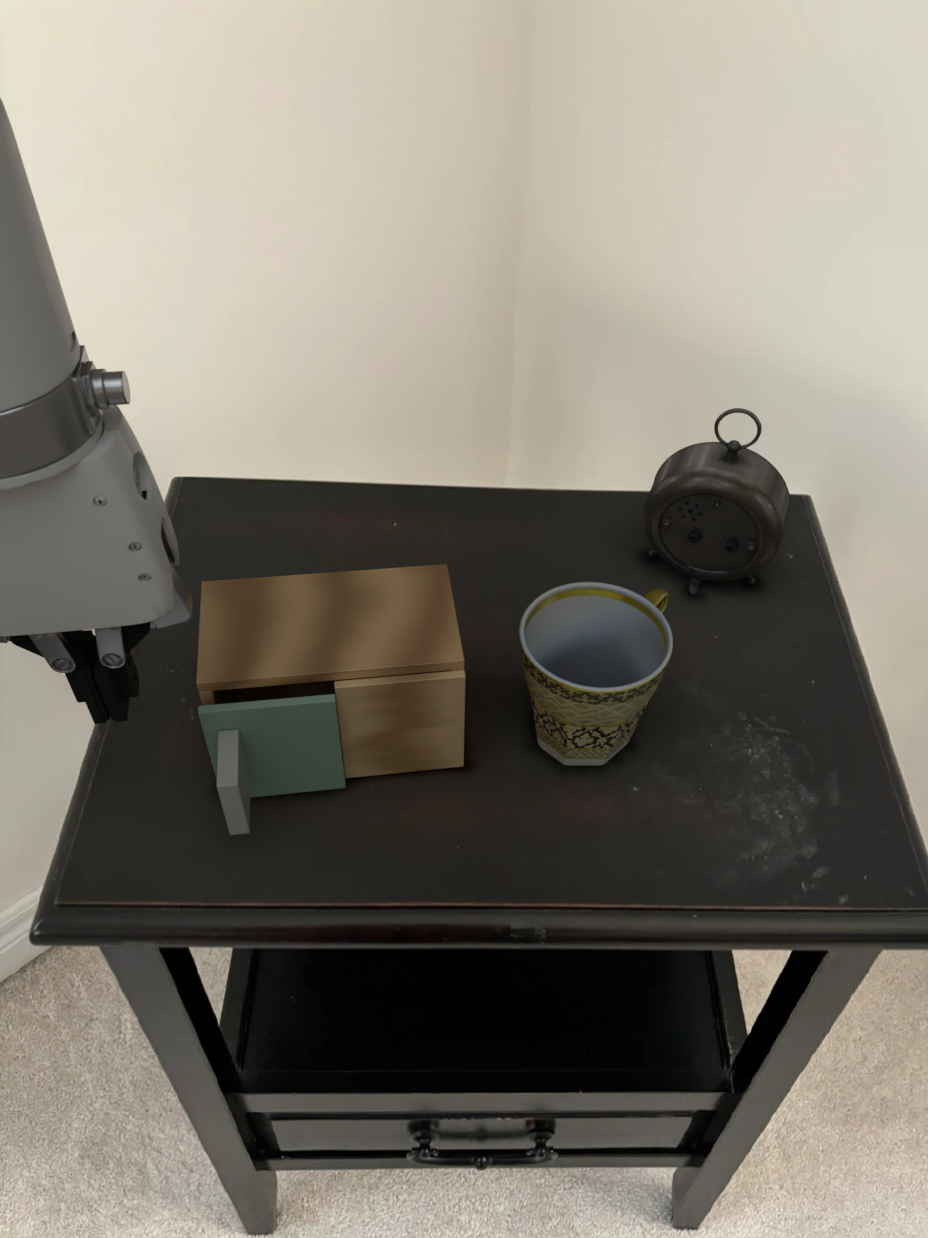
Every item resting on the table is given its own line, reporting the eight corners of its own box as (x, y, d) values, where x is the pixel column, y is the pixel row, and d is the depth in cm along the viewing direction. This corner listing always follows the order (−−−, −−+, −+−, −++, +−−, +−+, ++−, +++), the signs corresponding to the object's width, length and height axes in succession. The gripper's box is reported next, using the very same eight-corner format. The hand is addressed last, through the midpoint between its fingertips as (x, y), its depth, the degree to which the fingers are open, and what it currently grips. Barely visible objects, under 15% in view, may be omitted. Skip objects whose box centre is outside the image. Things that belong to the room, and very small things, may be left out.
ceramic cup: (589, 813, 69) (606, 716, 62) (482, 731, 73) (486, 631, 66) (702, 709, 76) (730, 611, 68) (598, 640, 80) (614, 540, 73)
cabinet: (224, 798, 68) (195, 691, 60) (227, 690, 75) (201, 581, 67) (463, 773, 71) (465, 667, 63) (446, 671, 77) (447, 563, 69)
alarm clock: (769, 575, 86) (822, 406, 74) (758, 617, 83) (812, 447, 71) (643, 542, 88) (674, 373, 76) (627, 582, 85) (657, 411, 73)
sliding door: (220, 856, 64) (194, 770, 58) (222, 793, 67) (198, 705, 61) (349, 842, 65) (339, 756, 59) (345, 781, 69) (334, 693, 62)
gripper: (190, 347, 45) (256, 640, 59) (-176, 367, 43) (-21, 665, 57) (182, 447, 40) (255, 742, 54) (-232, 476, 38) (-47, 774, 52)
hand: (113, 702), depth 55 cm, fingers closed
